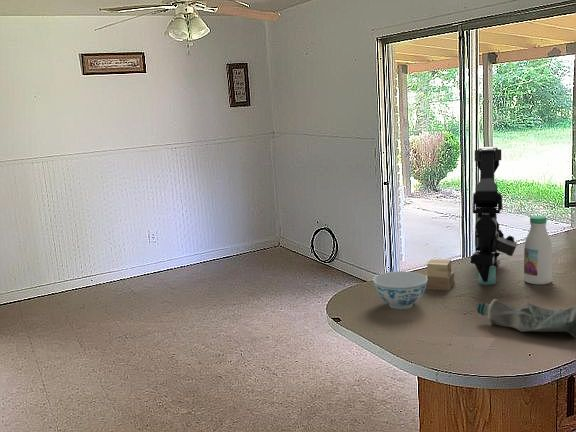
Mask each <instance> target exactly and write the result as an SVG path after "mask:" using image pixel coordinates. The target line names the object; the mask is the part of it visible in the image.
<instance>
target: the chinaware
mask: <svg viewBox="0 0 576 432" xmlns="http://www.w3.org/2000/svg"><path fill="white" fill-rule="evenodd" d="M427 280H428V279H427V277H426V276H425V275H424V274H422V273H419V272H415V271H414V272H412V271H398V270H397V271H388V272H383V273H380V274H378V275H375V276H374V277H373V280H372V282H373V285H374V288H375V290H376V292H377V294H378V296H380V298H381V299H382V300H383V301H384V302H385V303H388V305H389V307H390V308H392V309H396V310H405V309H410V308H412V307H413V306H414V303H416V302H417V301H418V300H420V299H421V297H422V296H423V294H425V293H424V292H425V291H426V290H427V289H426V285H427Z"/></svg>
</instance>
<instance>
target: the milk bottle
mask: <svg viewBox="0 0 576 432" xmlns="http://www.w3.org/2000/svg"><path fill="white" fill-rule="evenodd" d="M547 219H548V218H547V217H546V216H544V215H533V216H532V215H531V216H530V217H529V224H530V229H529V232H528V234H527V235H526V237H525V240H524V249H523V251H524V252H523V255H524V256H523V257H524V259H523V280H524V282H526V283H528V284H532V285H547V284H550V283H552V272H553V267H552V263H553V260H552V259H553V251H552V250H553V249H552V247H553V246H552V245H553V244H552V240H551V237H550V235H549V233H548V230H547Z"/></svg>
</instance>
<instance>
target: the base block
mask: <svg viewBox="0 0 576 432" xmlns="http://www.w3.org/2000/svg"><path fill="white" fill-rule="evenodd" d="M424 276H426V277H427V273H425V275H424ZM427 279H428V280H427V285H426V288H428V289H427V290H436V289H438V290H437V291H447V292H448V291H450V290H451V288H452V287H453V286H454V285H455V271H451V273H450V275H449V276H448V278H443V277H427Z"/></svg>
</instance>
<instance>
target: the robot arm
mask: <svg viewBox="0 0 576 432" xmlns="http://www.w3.org/2000/svg"><path fill="white" fill-rule="evenodd" d="M500 161H502V149H501V148H500V149H498V146H479V147H478V149H474V162H476V166H477V168H478V169H479V171H480V176H479V182H477V184H476V185H475V192H473V193H472V194H473V195H472V214H476V221H475V222H476V223H475V227H474V228H475V230H474V242H475V243H474V244H475V246H474V247H475V252H474V253H473V254H472V255H471V256H470V264H472V265H475V268H476V270H477V271H479V273H480V275H481V277H482V279H483V281H484V282H487V281H488V276H489V270H490V266H491V265H493V266H495V267H497V266H498V265H499V263H501V261H500V259H498V257H499V256H500V254H501V253H504V254H506V256H509V257H512V256H514V253H515V250H516V247H517V246H518V243H517V242H516V241H515V237H514V236H511V235H508V236H507V237H504V234H505V233H503V231H502V229H500V224H499V222H498V220H497V217H498V216H497V214H501V211H503V195H501V194H502V193H501V192H498V184H497V183H496V182H495V173H496V171H497V169H499V166H500ZM500 252H501V253H500Z"/></svg>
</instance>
